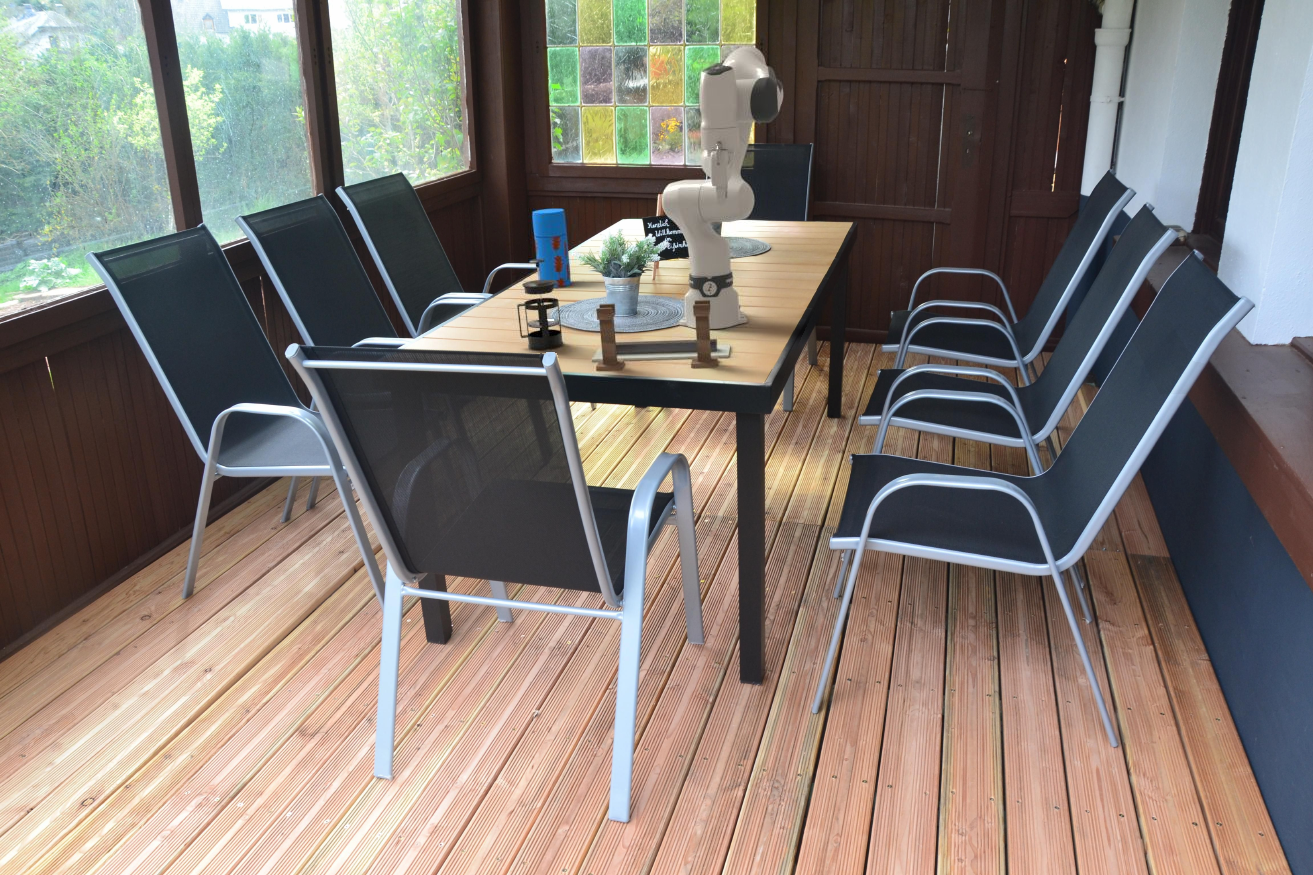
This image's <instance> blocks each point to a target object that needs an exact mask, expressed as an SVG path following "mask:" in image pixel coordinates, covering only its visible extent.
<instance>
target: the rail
mask: <svg viewBox="0 0 1313 875" xmlns="http://www.w3.org/2000/svg"><path fill="white" fill-rule="evenodd" d="M717 345H718V338H710V346H711V352H713V351H717ZM616 352H617V354H649V353H681V352H697V339H682V340H681V339H680V340H679V339H678V340H677V339H676V340H650V341H646V340H645V341H622V342H621V341H616Z"/></svg>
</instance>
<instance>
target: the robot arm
mask: <svg viewBox="0 0 1313 875" xmlns="http://www.w3.org/2000/svg"><path fill="white" fill-rule="evenodd" d="M783 88H784V85H783V83H782V81H780V80H779V79H778V78H777V77H776V74H775V71H774V69H773V68H772V67H771V66H769V65H768V66H767V64H766V59H765V56H764V55H763V53H762V52H761V51H760V49H759V48H757V47H754V46H752V45H751V46H750V45H744V46H740V47H738V48H736V49H735V50H733V51H732V52H730V54H729V55H728V56H727V57H726V58H725V59H723V60H721V62H716V63H714V64H712V65H711V66H709V67H705V68H704V69H703V70H701V72H700V78H699V94H698V113H699V114H700V116H701V123H700V144H701V146H700V147H701V148H700V149H701V150H702V154H701V158H700V166H701V169H702V171H703V172H704V173H705V174H706V176H708V177H709V178H708V179H683V180H678V181H674V182H671V183H669V184H668V185H666V186H665V188H664V190H663V192H662V195H661V207H662V210H663V211H664V214H665V215H666V216H667V218H668V219H670V221H672V222H674V223H675V225H677V227H678V229H679V230H680V231H681V233H682V234H683V236H684V239H685V242H686V246H687V250H688V251H687V252H688V256H689V257H688V258H689V271H690V272H689V274H688V282H689V287H690V288H689V290H688V292H686V294H685V295H684V316H683V317H682V318H681V319H680V320H679V322H678V326H684V327H686V326H687V327H689V328H692V329H696V318H695V316H694V313H693V305H695V300H710V314H709V325H710V330H715V329H724V328H731V327H734V326H736V325H740V324H745V323H747V322H748V318H747V317H746V316H745V314H744V313H743V311H742V310H741V304H740V302H739V301H740V299H739V292H738V291H737V290H736V289H735V288H734V287H733V285H734V276H733V271H732V269H731V267H732V266H731V265H732V264H731V262H732V261H731V247H730V244H729V241H728V240H727V239H726V238H724V237H723V236H722V235H721V234H718V233H717V232H716V231H715V230H714V228H713V227H712V225H711V222H712V223H731V222H736V221H741V220H745V219H747V218H748V217H749V216H750V215H751V213H752V211H753V208H754V206H755V195H754V191H753V189H752V187H751V186H750V184H748V182H746V181H745V180H744V179H743V178H742V175H741V170H742V166H743V162H744V160H745V155H746V153H747V150H748V147H749V142H750V139H751V138H750V137H751V131H752V127H753V123H757V124H758V125H760V124H761V123H768V124H769V123H771V122H773V120H774V119H775V118H776V117H777V116H778V115H779V112H780V110H781V106H782V103H783V100H784V89H783Z"/></svg>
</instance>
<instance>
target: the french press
mask: <svg viewBox="0 0 1313 875" xmlns="http://www.w3.org/2000/svg"><path fill="white" fill-rule="evenodd" d="M544 261H545V260H544V259H537V258H536V259H531V260H529V262H528V263H531V264H535V268H536V269H537V278H538V279H537V280H536V279H535V280H531V281H526V282H524V283H522V287H523V288H524V293H525V294H526V295H539V297H537V298H533V299H528V300H526V301H524V303H517V305H516V308H517V309H516V310H517V317H518V324H519V325H518V326H519V333H520V338H521V339H526V338H528V341H527V342H528V345H527V348H528V349H530V350H533V351H548V350H547V349H550V350H554V349H559V348H561V347H563V345H564V341H563V334H562V324H561V313H560V304H559V299H558V298H555V297H542V295H545V294H550V293H552V292H553V291H554V289H555V288H554V286H555V284H556V283H557V281H555V280H540V277H539V267H540V266H539V263H540V262H544ZM520 307H524V314H525V322H526V331H527V334H524V335H523V334H522V330H523V329H522V323H521V314H520ZM555 308H557V312H558V319H556V318H549V317H548V310H551V309H552V310H553V309H555ZM527 310H528V311H537V313H538V315H537V316H538V319H533V320H531V321H528V314H527ZM557 325H559V329H551V327H555V326H557ZM529 328H533V329H538V330H534V331H531V332H529Z"/></svg>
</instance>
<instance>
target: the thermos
mask: <svg viewBox="0 0 1313 875" xmlns="http://www.w3.org/2000/svg"><path fill="white" fill-rule="evenodd" d="M532 227H533V234H534V236H533V237H534V246H535V255H536V259H544V260H545V261H544V262H540V263H539V266H540V267H539V277H540V280H555V281H557V283H556V284H555V286H554V289H560V288H564V287H565V288H566V287H569V286H570V285H571V284H572V282H571V267H570V264H571V263H570V254H569V245H568V244H569V243H568V234H567V222H566V213H565V210H564V209H563V208H546V209H539V210H538V209H537V210H535V211H532Z"/></svg>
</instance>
